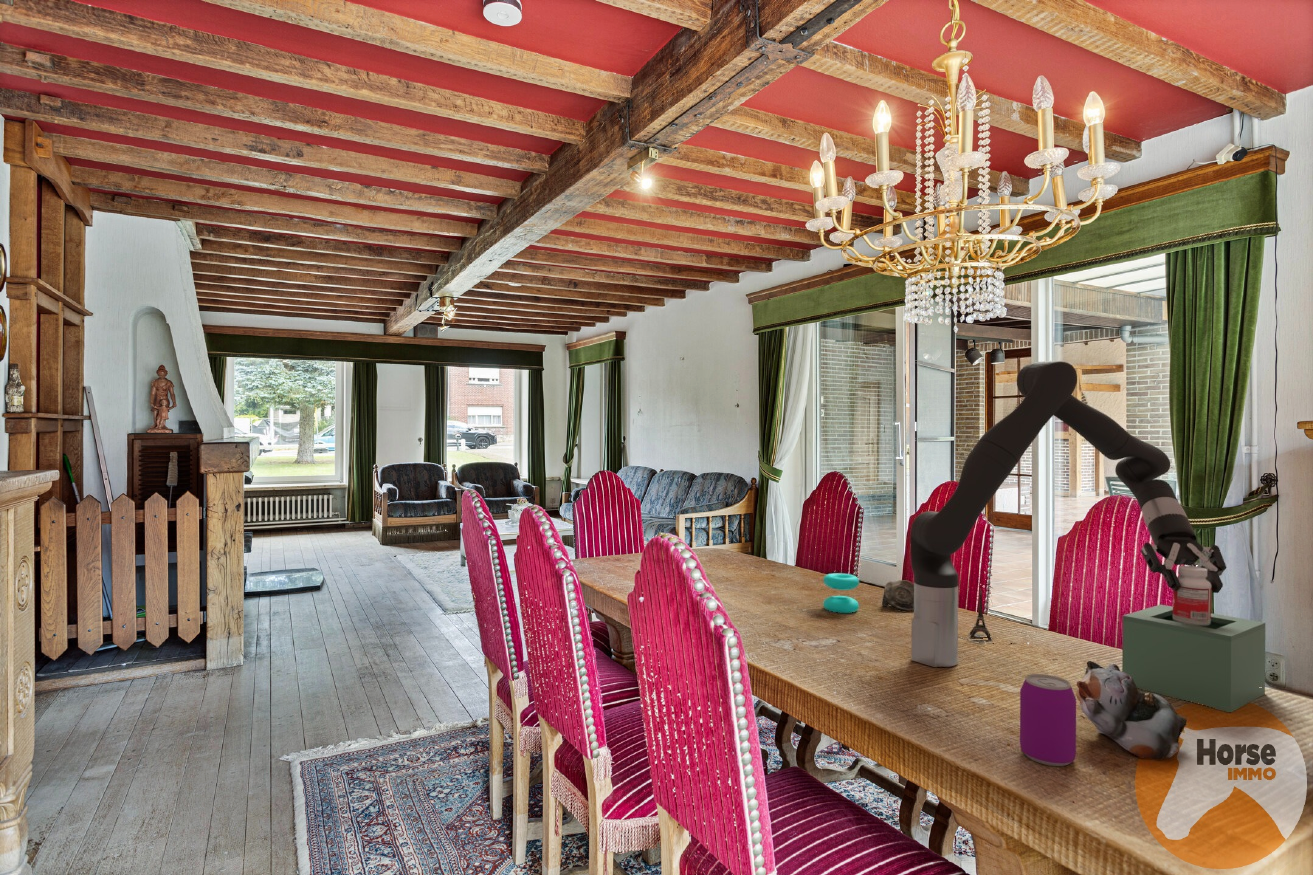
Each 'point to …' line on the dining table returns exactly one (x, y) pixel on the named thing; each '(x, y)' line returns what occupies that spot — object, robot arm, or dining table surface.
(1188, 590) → the pill bottle
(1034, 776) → the dining table surface
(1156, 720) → the lucky cat figurine
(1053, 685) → the beverage can
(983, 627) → the eiffel tower figurine
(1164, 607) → the box
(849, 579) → the donuts
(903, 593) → the fossil
